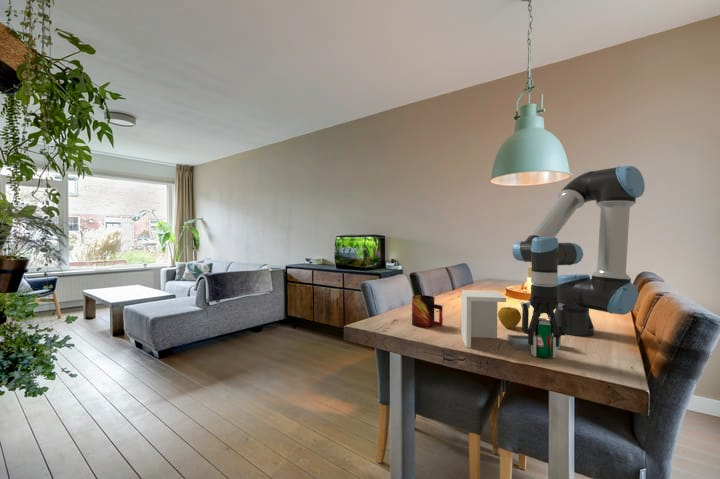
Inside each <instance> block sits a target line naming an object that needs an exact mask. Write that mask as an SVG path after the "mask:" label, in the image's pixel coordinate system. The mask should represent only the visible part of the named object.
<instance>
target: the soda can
mask: <svg viewBox="0 0 720 479" xmlns="http://www.w3.org/2000/svg"><path fill="white" fill-rule="evenodd" d="M534 335H535V336H536V356H535V357H537V358H540V359H550V358H551V357H552V323H551V320H549V318H542V317H539V320H538V323H537V326H536V330H535V333H534ZM552 358H553V357H552Z"/></svg>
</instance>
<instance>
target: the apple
mask: <svg viewBox="0 0 720 479" xmlns="http://www.w3.org/2000/svg"><path fill="white" fill-rule="evenodd" d="M497 318H498V320H499V321H500V323H501V325H502V326H504V328H505V329H509V330H510V329H515V328H516V327H517V326H518V325H519V323H520V322H521V321H522V315H521V312H520V311H519V309H518V308H517V307H510V306H508V307H507V306H504V307H501V308H500V309H498V311H497Z"/></svg>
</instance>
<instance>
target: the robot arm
mask: <svg viewBox="0 0 720 479" xmlns="http://www.w3.org/2000/svg"><path fill="white" fill-rule="evenodd" d="M645 188H646V186H645V179H644V176H643V174H642V173H641V171H640V169H638V168H637V167H636V166H633V165H625V166H620V165H619V166H616V167H610V168H604V169H599V170H597V169H596V170H590V171H586V172H584V173H582V174H580V175H578V176H577V177H575V178H573V179H572V180H571V181H570V182H568V183H567V184H566V185H565V186H564V187H563V188H562V189H561V190H560V192H559V193H558V195H557V200H556V201H555V202H554V204H553V205H552V206H551V207H550V209H549V210H548V212H546V214H545V215H544V216H543V217H542V219H541V220H540V221H539V223H538V224H537V225H536V227H535V228H534V229H533V231H531V233H530V234H529V235H528V237H527V238H526V239H525V240H524V241H523V240H521V241H517V242H515V243H514V244H513V245H512V251H511V253H512V255H513V258H514V259H515V260H516V261H520V262H525V263H531V268H530V283H532V284H530V299H529V301H526V302H524V301H521V302H520V306H521V309H522V315H521V331H522V332H523V334H524V335H525V334H526V335H527V336H528V344H529V345H531V350H530V354H531V355H532V356H533V357H537V356H536V336H535V335H534V334H535V330H536V326H537V323H538V320H539V318H541V316H542V315H543V314H546V315H547V317H548V318H547V319H549V320H551V323H552V333H553V335H552V358H556V355H557V354H556V352H557V349H556V347H558V346H559V338H560V337H562V336H566V335H570V336H577V337H587V336H588V337H589V336H594V334H595V327H594V324H593V321H592V319H591V318H592V317H591V316H590V310H595V311H598V312H604V313H608V314H611V315H612V314H615V315H620V316H622V315H623V316H624V315H627V314H629V313H630V312H631V311H633V309H634V308H635V306H636V304H637V302H638V299H639V290H638V287H637V285H635V284H634V283H632V278H631V277H630V276H629V275H628V274H627V263H628V262H627V260H628V259H627V257H628V245H629V244H628V243H629V230H630V229H629V227H630V214H631V212H630V209H631V208H632V207H633V206H634V205H635V204H636V200H637V199H638V198H640V197H642V196H643V195H644V192H645ZM592 201H595V204H596V206H598V207H599V208H600V216H599V232H598V249H597V266H596V271H595V272H594V273H592V274H591V276H590V275H589V274H585V273H582V274H577V273H576V274H561V275H558V271H559V270H558V268H559V267H558V266H572V265H576V264H578V263H580V262H581V261H582V260H583V257H584V250H583V249H582V247H581V246H580V245H579V244H578V243H575V242H559V240H558V238H557V235H558V234H559V233H560V231H561V230H562V229H563V227H564V226H565V225H566V224H567V222H568V221H569V220H570V219H571V217H572V216H573V214H575V212H576V210H577V209H580V208H581V207H583V206H584V204H585V203H588V202H592ZM530 307H532V308H533V311H532V315H531V319H530V320H529V317H530V316H529V315H530V314H529V313H530V312H529V310H530ZM529 321H530V322H529Z"/></svg>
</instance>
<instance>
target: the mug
mask: <svg viewBox="0 0 720 479" xmlns="http://www.w3.org/2000/svg"><path fill="white" fill-rule="evenodd" d="M411 305H412V306H411V324H412V326H414V327H416V328H422V329H424V328H425V329H428V328H433V327H434V326H436V327H440V328H442V327H443V321H444V319H443V305H441V304H435V297H434V296H432V295H428V294H427V295H426V294H425V295H424V294H422V295H421V294H418V295H413V296H412V297H411ZM435 309H436V310H438V316H439V317H438V321H436V320H435Z"/></svg>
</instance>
